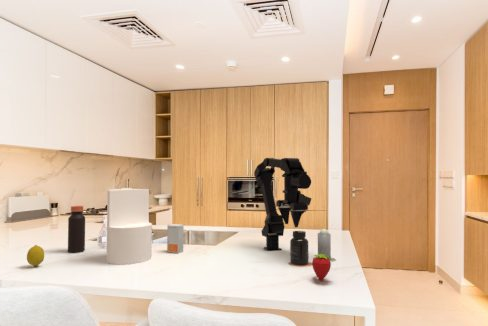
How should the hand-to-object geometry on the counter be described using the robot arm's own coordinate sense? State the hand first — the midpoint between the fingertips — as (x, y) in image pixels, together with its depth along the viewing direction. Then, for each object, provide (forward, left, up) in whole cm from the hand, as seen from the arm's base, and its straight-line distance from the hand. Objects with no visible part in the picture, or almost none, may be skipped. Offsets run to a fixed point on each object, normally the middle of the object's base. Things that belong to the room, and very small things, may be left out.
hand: (291, 225), depth 140 cm
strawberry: (+31, -4, -13) cm, 34 cm away
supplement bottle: (+12, -2, -13) cm, 17 cm away
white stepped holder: (-17, -64, -13) cm, 68 cm away
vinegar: (-38, -87, -13) cm, 96 cm away
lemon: (-15, -97, -13) cm, 99 cm away
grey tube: (+9, +10, -12) cm, 18 cm away
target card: (+10, +3, -13) cm, 17 cm away
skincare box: (-24, -45, -13) cm, 53 cm away
